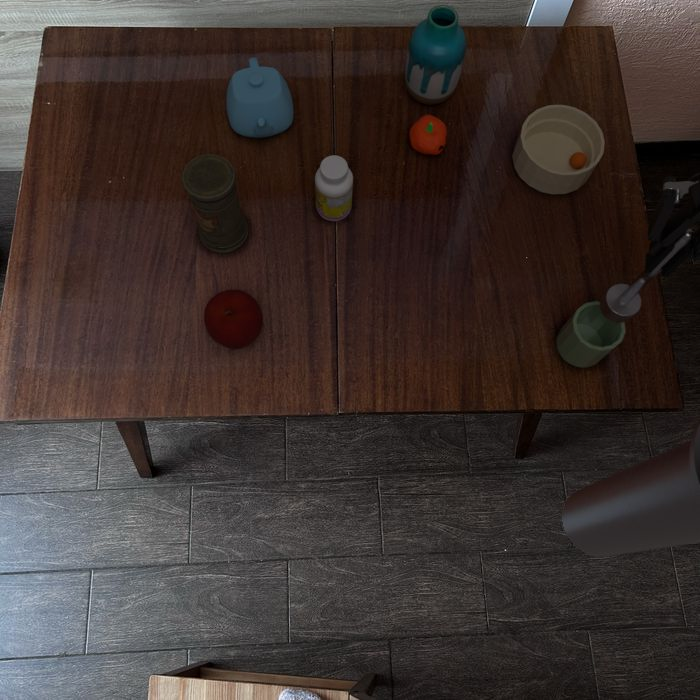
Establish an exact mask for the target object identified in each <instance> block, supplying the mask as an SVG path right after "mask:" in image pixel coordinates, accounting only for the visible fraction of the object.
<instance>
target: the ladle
mask: <svg viewBox="0 0 700 700" xmlns="http://www.w3.org/2000/svg"><path fill="white" fill-rule="evenodd" d="M694 234H695V232H694V230H692V229H691V228H689V229H688V230H687V231H686V232H685V233H683V234H682V235H681V236H680V237H679V238H678V239H676V240H675V241H674V242H673V250H672V251H671V252H670V254H669V255H668V256H667V257H666V258H665V259H664V260H663V261H662V262H661V263H660V264H659V265H658V266H657V267H656V268H655V269H654V270H653V271H652V272H651V273H646V272H645V269H644V270H643V271H642V272H640V274H639V275H638V276H637V277H636V278H635V279H634V280H633V281H632V282H631V283H630V285H629V284H625V283H618V284H617V283H616V284H614V285H612V286H611V287H610V288H609V289H608V290H607V291H606V292H605V293H604V294H603V295H602V297H601V298H600V300H599V302H600V310H601V312H602V314H603V315H604V316H605V317H606V318H607V319H608V320H610V321H612V322H615V323H623V322H624V323H626V322H628V321H630V319H631V318H633V316H635V315H636V314H637V313H638V312H639V311H640V309H641V307H642V298H641V296H640V294H639V293H640V292H641V291H642V290H643V289H644V288H645V287H647V285H648V284H649V283H650V282H651V281H652V280H653V279H654V278H656V276H657V275H658V274H659V273H660V272H662V269H663V268H664V267H665V266H666V265H667V264H668V263H669V262H670V261H671V260H672V259H673V258H674V257H675V256H676V255H677V254H678V253H679V252H680V251H681V250H682V249H683V248H684V247H685V246H686V245H687V244H688V243H689V242H690V241H691V240H692V239H693V238H694Z"/></svg>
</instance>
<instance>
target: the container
mask: <svg viewBox="0 0 700 700" xmlns="http://www.w3.org/2000/svg"><path fill="white" fill-rule="evenodd" d="M236 181H237V173H236V169H235V167H234V166H233V164H232V163H231V162H230V161H229V160H228V159H226V158H225V157H223V156H221V155H217V154H212V153H211V154H210V153H208V154H207V153H206V154H202V155H201V154H200V155H198V156H196V157H194V158H192V159H191V160H190V161H188V163H187V164H186V165H185V167H184V169H183V171H182V175H181V183H182V187H183V190H184V191H185V192H186V193H187V195H188V198H189V202H191V204H192V208H193V210H194V213H195V216H196V223H197V227H198V228H197V229H198V236H199V239H200V241H201V243H202V245H203V246H204V247H205V248H207V249H208V250H209V251H211V252H213V253H216V254H222V255H223V254H230V253H231V254H232V253H233V252H235V251H237V250H240V248H241V247H243V246H244V244H245V242H246V241H247V238H248V236H249V223H248V220H247V219H246V216H245V214H244V213H243V212H244V211H243V209H242V207H241V204H240V199H239V195H238V186H237V183H236Z"/></svg>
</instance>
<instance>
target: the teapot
mask: <svg viewBox="0 0 700 700" xmlns="http://www.w3.org/2000/svg"><path fill="white" fill-rule="evenodd" d="M248 66H249V67H246V68H242V69H239V70H237V71H236V72H234V73H233V75H232V77H231V78H230V80H229V83H228V85H227V90H226V103H225V105H226V113H227V118H228V122H229V124H230V127H231V129H232V130H233V131H234V132H235V133H237V134H238V135H240V136H243V137H247V138H252V139H253V138H255V139H260V138H268V137H272V136H273V137H274V136H276V135H280V134H281V133H283V132H285V131H287V130H288V129H289V128H290V127H291V125H292V124H293V121H294V113H295V112H294V103H293V97H292V94H291V90H290V88H289V86H288V83H287V81H286V80H285V78H284V76H283V75H282V74H281V73H280V72H279V71H278V70H277V69H276V68H274V67H272V66H270V67H269V66H260V65H259V60H258V58H257V57H255V56H253V57H250V58H248Z"/></svg>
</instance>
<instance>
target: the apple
mask: <svg viewBox="0 0 700 700" xmlns="http://www.w3.org/2000/svg"><path fill="white" fill-rule="evenodd" d="M203 322H204V323H203V324H204V327H205V330H206V332H207V334H208V335H209V336H210V338H211V339H212V340H213V341H214V342H216V343H217V344H219V345H220V346H222V347H225V348H226V349H227V348H228V349H231V350H232V349H233V350H239V349H244V348H246V347H248V346H249V345H251V344H253V343H254V342H255V341H256V340H257V339H258V337H259V336H260V334H261V332H262V329H263V323H264V317H263V311H262V309H261V306H260V304H259V303H258V301H257V300H256V298H254V296H252V295H251V294H250V293H248V292H246V291H244V290H241V289H234V288H233V289H225V290H223V291H219V292H218V293H216V294H215V295H213V296H212V297H211V298H210V299H209V300H208V302H207V303H206V305H205V308H204V313H203Z"/></svg>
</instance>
